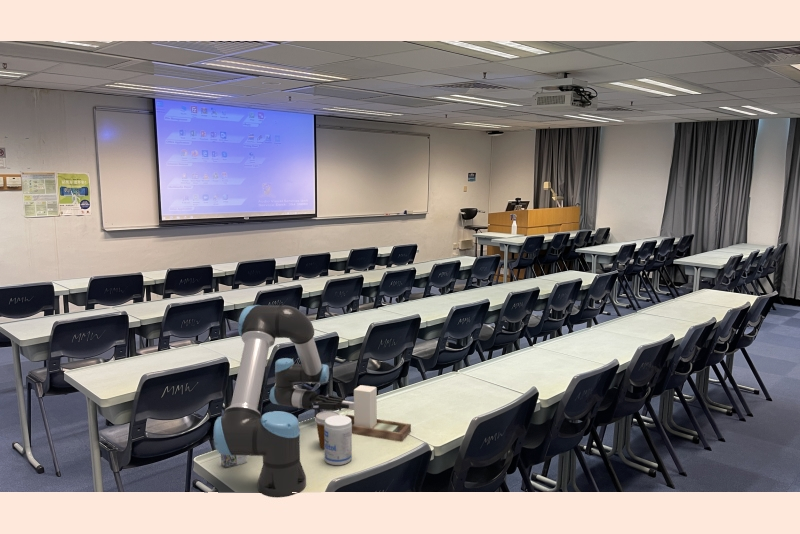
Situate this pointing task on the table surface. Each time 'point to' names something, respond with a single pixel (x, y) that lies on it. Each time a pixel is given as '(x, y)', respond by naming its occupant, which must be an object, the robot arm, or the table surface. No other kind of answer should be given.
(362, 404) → the block
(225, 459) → the ink box
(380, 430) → the trap track
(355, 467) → the table surface
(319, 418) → the disposable coffee cup
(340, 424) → the supplement tub
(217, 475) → the table surface
